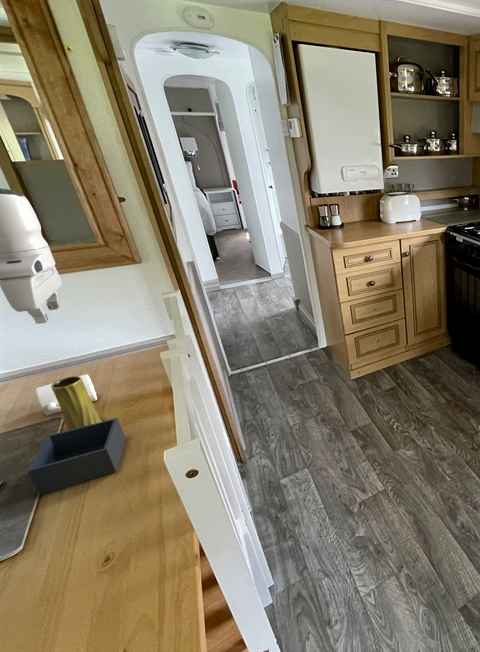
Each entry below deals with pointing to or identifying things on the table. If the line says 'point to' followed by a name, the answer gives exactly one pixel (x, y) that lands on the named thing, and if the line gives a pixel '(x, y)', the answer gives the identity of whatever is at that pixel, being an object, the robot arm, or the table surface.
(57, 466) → the bin
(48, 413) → the mug
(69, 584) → the table surface
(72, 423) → the vase
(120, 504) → the table surface
